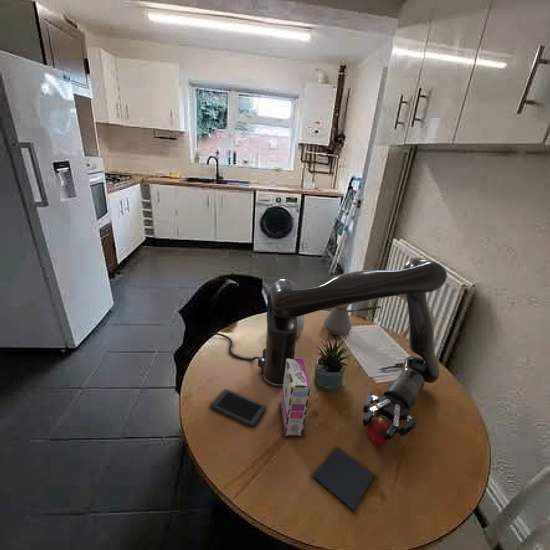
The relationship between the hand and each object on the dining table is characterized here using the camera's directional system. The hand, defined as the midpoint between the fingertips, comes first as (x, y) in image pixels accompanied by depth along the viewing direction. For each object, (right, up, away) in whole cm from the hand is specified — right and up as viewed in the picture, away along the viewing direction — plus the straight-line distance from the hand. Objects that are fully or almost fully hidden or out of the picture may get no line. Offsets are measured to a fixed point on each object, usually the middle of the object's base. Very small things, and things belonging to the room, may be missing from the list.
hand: (375, 430), depth 76 cm
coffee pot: (+6, +14, +52) cm, 55 cm away
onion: (+1, -6, +4) cm, 7 cm away
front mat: (-9, -8, -5) cm, 13 cm away
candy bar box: (-20, -2, +9) cm, 22 cm away
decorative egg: (-20, +14, +49) cm, 54 cm away
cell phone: (-35, 0, +11) cm, 37 cm away
